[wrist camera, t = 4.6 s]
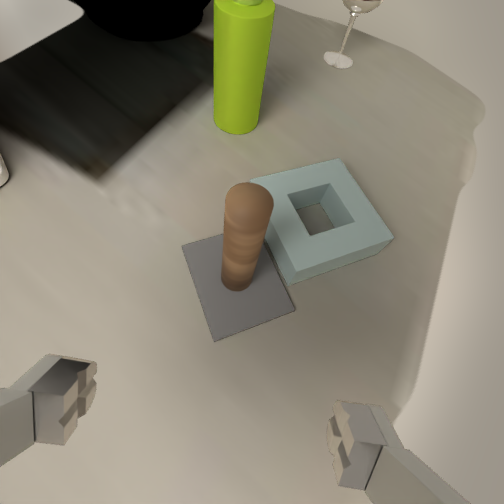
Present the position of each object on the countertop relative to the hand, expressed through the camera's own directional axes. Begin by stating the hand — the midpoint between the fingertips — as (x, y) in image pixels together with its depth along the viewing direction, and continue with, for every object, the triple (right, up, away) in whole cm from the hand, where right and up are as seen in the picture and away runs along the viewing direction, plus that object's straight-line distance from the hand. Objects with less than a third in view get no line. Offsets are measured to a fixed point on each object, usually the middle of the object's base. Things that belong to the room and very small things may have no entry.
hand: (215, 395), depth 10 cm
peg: (0, +2, +19) cm, 19 cm away
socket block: (+8, +8, +23) cm, 25 cm away
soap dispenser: (-1, +23, +30) cm, 38 cm away
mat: (0, +2, +19) cm, 19 cm away
